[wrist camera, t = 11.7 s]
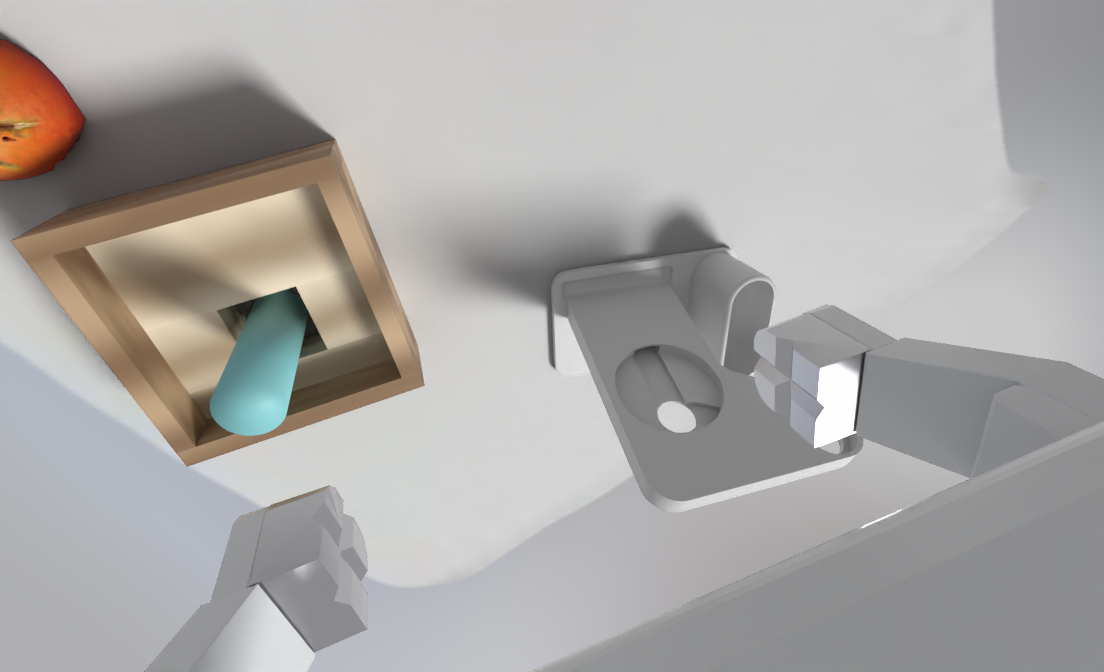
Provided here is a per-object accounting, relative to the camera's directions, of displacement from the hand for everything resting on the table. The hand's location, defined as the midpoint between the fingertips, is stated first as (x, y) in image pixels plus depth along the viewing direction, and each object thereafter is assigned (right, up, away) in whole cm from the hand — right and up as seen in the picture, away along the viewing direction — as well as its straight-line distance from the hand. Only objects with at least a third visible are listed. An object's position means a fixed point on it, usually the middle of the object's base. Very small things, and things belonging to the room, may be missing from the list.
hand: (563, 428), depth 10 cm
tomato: (-31, +14, +19) cm, 39 cm away
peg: (-20, +3, +28) cm, 35 cm away
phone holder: (+8, +4, +38) cm, 39 cm away
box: (-20, +5, +27) cm, 34 cm away
